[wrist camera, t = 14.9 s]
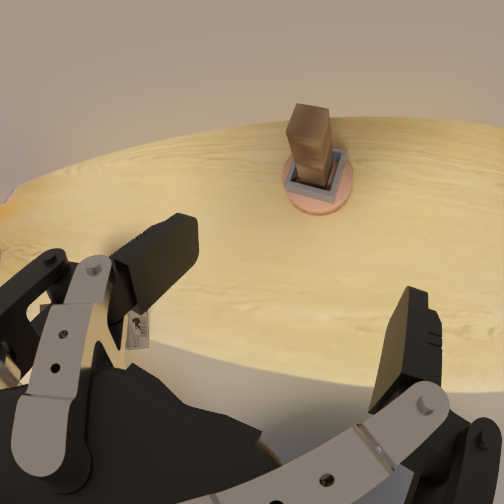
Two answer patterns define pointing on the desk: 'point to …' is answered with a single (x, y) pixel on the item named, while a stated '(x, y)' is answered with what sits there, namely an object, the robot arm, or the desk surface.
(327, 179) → the brown wooden block
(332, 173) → the dish
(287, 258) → the desk surface
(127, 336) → the coffee box
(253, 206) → the desk surface
